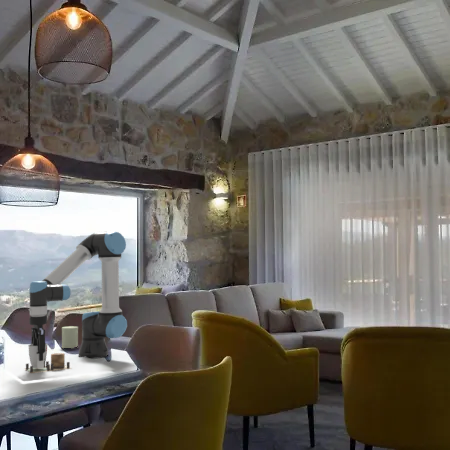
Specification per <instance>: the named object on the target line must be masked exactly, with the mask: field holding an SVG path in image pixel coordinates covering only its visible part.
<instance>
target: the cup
mask: <svg viewBox="0 0 450 450" xmlns="http://www.w3.org/2000/svg"><path fill="white" fill-rule="evenodd" d="M45 350H46V351H45V352H44V364H45V365H46V361H47V355H48V343H46V342H45ZM37 352H38V346H33V344H31V343H30V344H28V355H29V357H28V358H29V362H30V363H29V364H30V366H33V368H37V354H36V353H37Z"/></svg>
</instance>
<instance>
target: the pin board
mask: <svg viewBox="0 0 450 450" xmlns="http://www.w3.org/2000/svg"><path fill="white" fill-rule="evenodd" d="M49 362H50V361H48V360H46V361H45V364H44V368H33V366H31V365H30V363H25V368H24V370H25V371H27V372H28V373H29V374H36V373H37V374H39V373H47V372H55V371H64V370H72V369H73V368H72V367H70V366H71V365H70V361H67V362H66V364H65V367H64V368H59V369H53V364H51V363H49Z"/></svg>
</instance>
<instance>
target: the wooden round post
mask: <svg viewBox="0 0 450 450" xmlns="http://www.w3.org/2000/svg"><path fill="white" fill-rule="evenodd" d="M65 358H66V356H65V353H63V352H56V353H55V352H54V353H51V354H50V365H51V364H53V369H59V368H64V367H65V365H66V364H65Z"/></svg>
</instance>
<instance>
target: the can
mask: <svg viewBox="0 0 450 450" xmlns="http://www.w3.org/2000/svg"><path fill="white" fill-rule="evenodd" d="M77 346H78V347H79V326H75V325H74V326H73V325H69V326H62V327H61V349H64V348H71V349H75V348H74V347H77ZM78 347H77V348H78Z"/></svg>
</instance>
